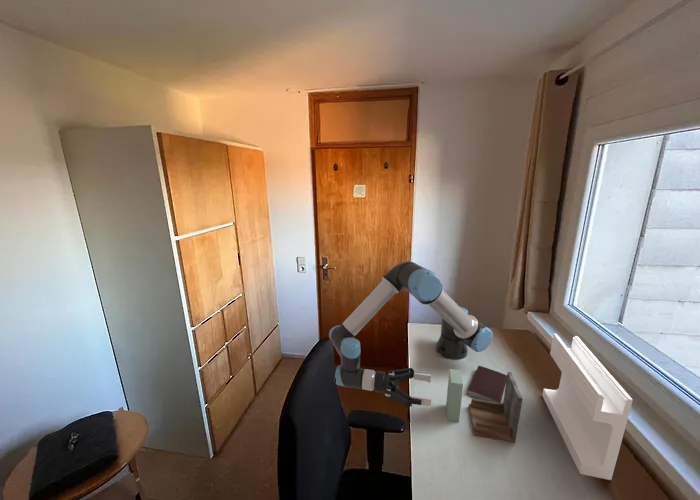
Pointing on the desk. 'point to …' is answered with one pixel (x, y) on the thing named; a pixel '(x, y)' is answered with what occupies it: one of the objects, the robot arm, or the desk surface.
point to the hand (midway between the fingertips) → (431, 389)
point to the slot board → (498, 414)
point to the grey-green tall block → (454, 395)
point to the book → (487, 385)
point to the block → (588, 408)
